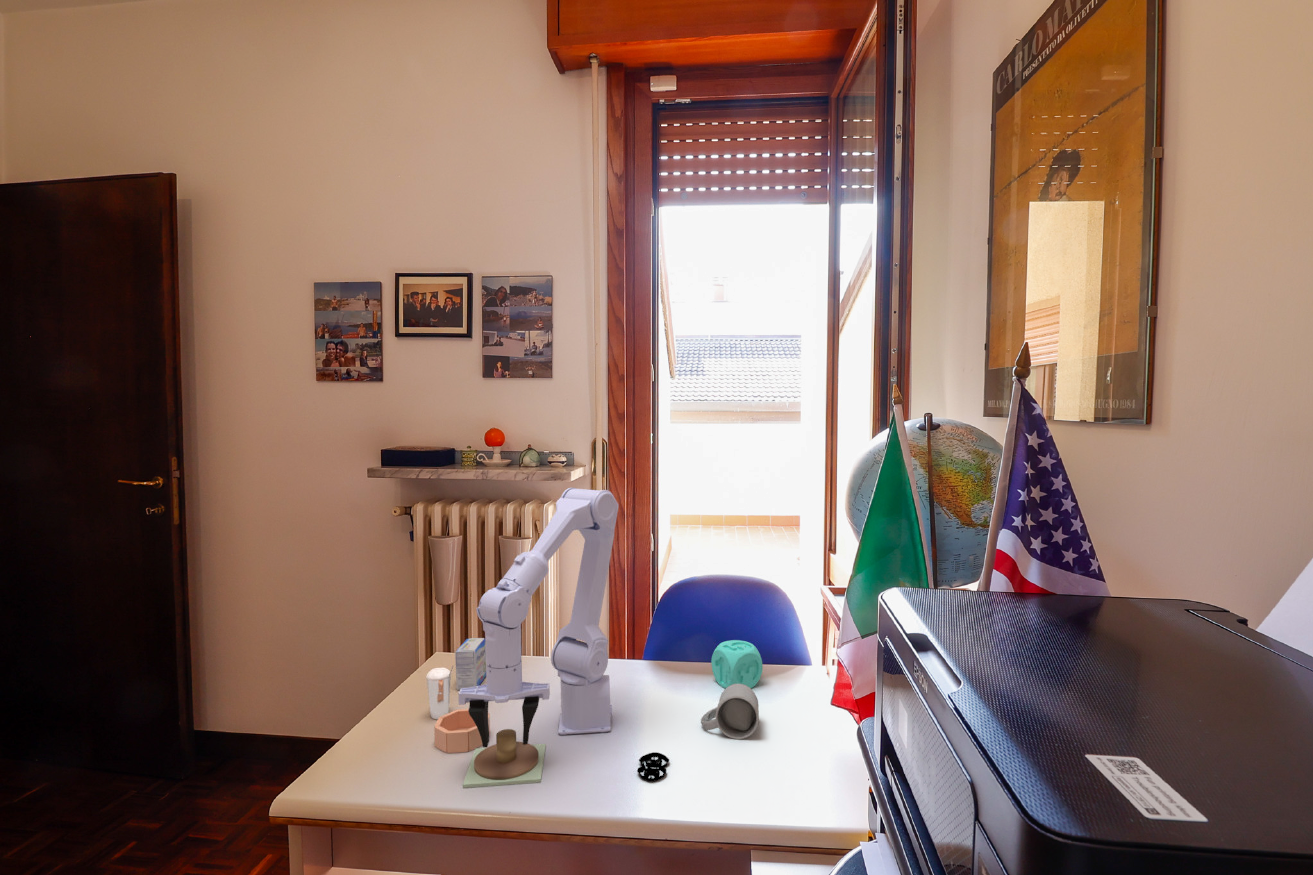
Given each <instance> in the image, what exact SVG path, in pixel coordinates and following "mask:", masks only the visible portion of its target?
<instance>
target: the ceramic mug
mask: <svg viewBox="0 0 1313 875" xmlns="http://www.w3.org/2000/svg"><path fill="white" fill-rule="evenodd" d="M759 706H760V705H759V699H758V696H757V695H756V694H755V691H753V689H752V688H749V687H748V686H746V685H743V684H733V685H730V686H728V687H727V688H726V689H725V688H724V689H723V691H722V692H721V695H720V697H719V700H718V704H717V707H715V708H712V709H710V710H708V711H707V712H706V713H704V714H703V716H702V717H701V718H700V723H701V725H702V726H701V727H702V728H703V729H704V730H706V731H710V730H715V729H719V730H720V732H721V733H722V734H723V735H725V736H726V737H728V738H730V739H733V740H743V739H747V738H749V737H751V736H752V735H753V734H754V733H755V731H756V730H757V728H758V725H759V722H760V721H759V719H760V718H759V717H760V716H759V715H760V714H759V711H760V710H759Z"/></svg>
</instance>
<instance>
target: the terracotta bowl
mask: <svg viewBox="0 0 1313 875" xmlns="http://www.w3.org/2000/svg"><path fill="white" fill-rule="evenodd" d="M468 710H469V708H463V709H456V710H452V711H451V712H449V713H448V714H445V715H443V716H441V717H439V719H437V721H436V723H435V725H434V726H433V727H434V729H433V730H434V747H435V748H437V749H438V750H440V751H442V752H444V753H447V754H454V753H455V754H456V753H468V752H471V751H475V749H476V748H481V747H483V744H482V740H481V736H480V733H479V731H478V728H477V726H476V724H475V722H474V721H473V719H472V718H471V716H470V715H469V711H468ZM490 716H491V715H490V713H489V712H488V725H489V736H490V735H491V717H490Z"/></svg>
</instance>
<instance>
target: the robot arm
mask: <svg viewBox="0 0 1313 875" xmlns="http://www.w3.org/2000/svg"><path fill="white" fill-rule="evenodd" d="M619 506H620V505H619V503H618V501H617V500H616V498H615V496H614V494H613V493H612V492H611V491H610V490H608V489H601V490H597V489H585V488H577V487H569V488H567V489H565V490H564V491H563V492H562V494H561V496H560V497H559V499H557V500H556V503H555V512H554V514H553V516H552V518H551V519H550V520H549V522H548V524H547V525H546V527H545V528H544V530H543V531H542V533H541V535H540V537H539V538H538V540H536V542H535V544H534V546H533V547H532V549H531V550H529V551H524V552H521V553H520V554H517V555H516V557H515V558H514V560H513V563H512V565H511V566H510V568H509V569H508V570H507V572H506V573H505V574H504V576H503V577H502V578H501V579H500V581H498V583H497V585H496V587H493V588H491V589H488V590H487V591H486V592H485V593H483V595H482V596H481V598H480V600H479V603H478V607H476V608H475V610H476V614H477V617H478V618H479V620H480V621H481V622H482V630H483V631H484V633H485V634H484V636H485V643H486V677H485V678H486V684H480V686H475V687H470V688H461V689H460V690H458V691H459V692H458V705H460V706H461V705H466V704H467V703H469V705H468V706H469V707H468V709H469V710H468V711H469V715H470V716H471V718H472V719H473V721H474V722H475V724H476V726H477V728H478V731H479V733H480V736H481V740H482V744H483V745H482V748H488V747H489V743H490V735H489V725H488V713H489V702H494V703H496V704H502V703H508V702H509V701H515V700H519V701H520V700H523V702H522V706H521V708H522V709H521V710H522V721H523V722H522V723H523V725H522V726H523V729H522V730H523V731H522V742H523V745H527V744H529V739H530V738H529V737H530V729H531V725H532V722H533V719H534V717H535V715H536V713H537V710H538V707H539V702H540V699H541V700H544V701H545V700H546V701H547V700H550V693H551V692H550V686H551V685H550V683H539V682H529V681H528V682H527V681H523V666H522V665H523V664H522V662H523V660H522V628H521V626H522V623H523V622H524V621H525V620H526V618H527V616H528V614H529V610H530V609H529V608H530V607H529V606H530V603H531V601H532V596H533V595H534V593H535V592H536V591H537V589H538V588H539V586H540V585H541V583H542V582H543V581H544V579H545V578H546V576H547V575H548V573H549V561H550V560H551V558H552V557H553V556H554V555H555V554H556V553H557V551H558V550H559V548H561V546H562V545H563V543H565V542H566V540H567V539H568V538H569V536H571V534H572V533H573V531H576V530H577V531H579V533H580V534H581V536H582V538H584V544H583V548H582V549H583V550H582V555H581V562H580V567H579V572H578V578H577V582H576V588H575V593H574V599H573V604H572V610H571V614H570V615H571V616H570V620H569V621H570V622H569V623H568V624H566V625H564V626H563V627H562V628H561V629H559V630H558V635H557V638H556V642H555V643H554V645H553V647H552V649H551V654H550V662H551V665H552V667H553V668H554V670H556V671H557V677H560V707H561V708H560V710H561V711H560V714H559V723H558V731H557V732H558V735H574V734H575V735H577V734H588V733H589V734H590V733H605V732H606V733H607V732H611V729H612V726H611V723H612V722H611V716H613V706H612V704H611V685H610V684H611V683H610V674H609V675H608V674H604V673H605V672H606V670H607V668H608V665H609V664H608V663H609V655H608V645H609V644H608V643H609V639H608V637H607V636H606V634H604V632H603V631H602V629H601V628H600V626H599V625H600V622H601V620H600V619H601V613H602V608H603V604H604V602H603V601H604V597H605V590H606V585H607V581H608V580H607V579H608V574H609V569H610V562H611V556H612V549H613V544H614V539H615V529H616V525H617V524H616V523H617V518H618V517H617V516H618V513H619V512H618V511H619Z"/></svg>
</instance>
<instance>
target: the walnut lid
mask: <svg viewBox="0 0 1313 875" xmlns="http://www.w3.org/2000/svg"><path fill="white" fill-rule="evenodd" d="M495 736H496V737H495V738H496V740H495V741H496V743H495V744H492V745H490V746H487V747H485V748H486V749H484V750H482V751H481V752H480V753H479V754H478V755H477V756H476V758H475V760H474V769H475V772H476V773H477V774H478V775H479V776H481V777H483V778H486V779H491V780H506V779H512V778H516V777H519V776H522V775H524V774H526V773H528V772H529V771H531V770H532V769H533V768H534V767H535V766H536V765H537V763H538V760H539V754H538V750H537V749H536V748H535V747H534V746H533V745H534V744H530V743H528V744H527V745H523V741H517V731H516V730H515V729H512V728H511V729H510V728H505V729H502V730H499V731H498V732H497V733H496V735H495Z"/></svg>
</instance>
